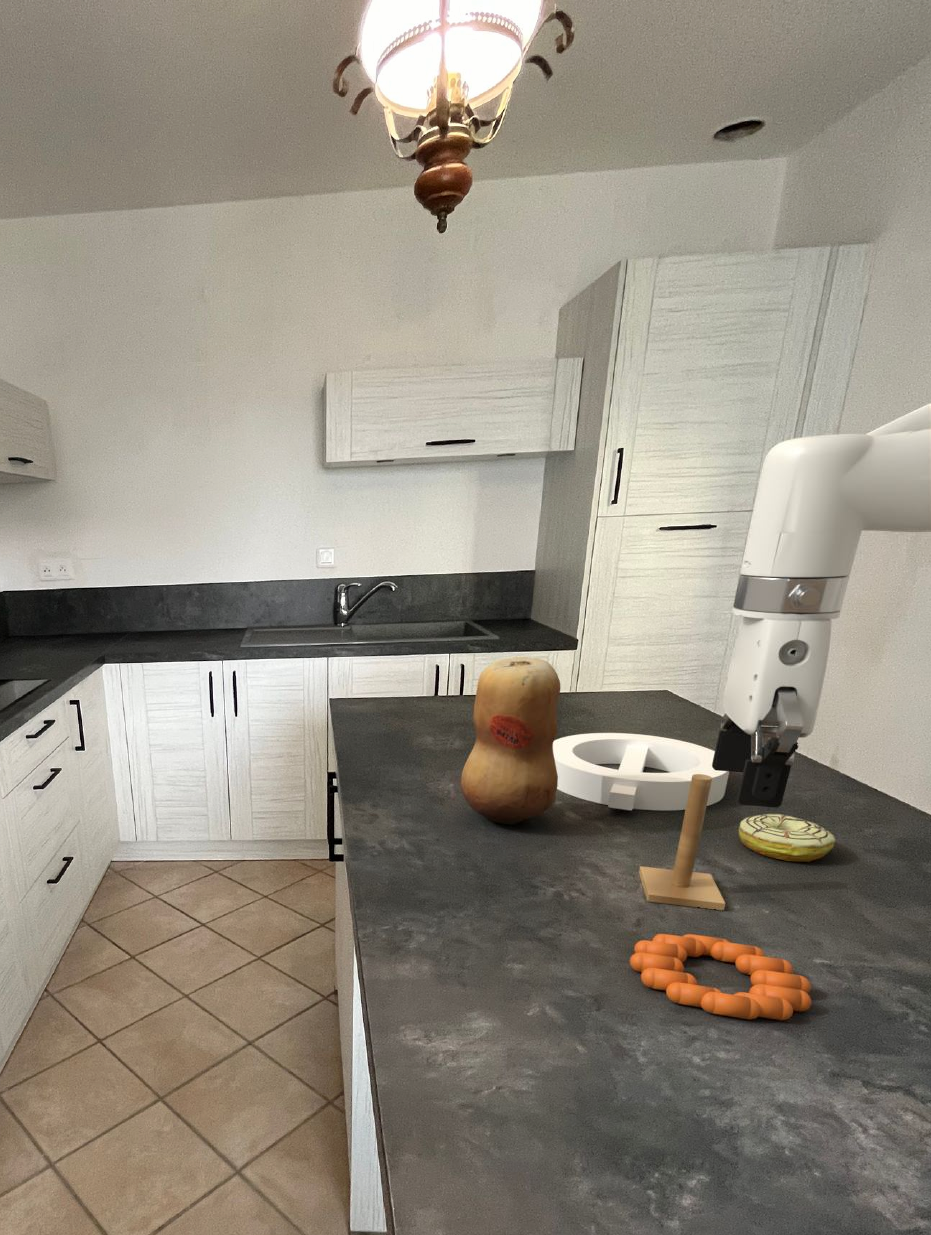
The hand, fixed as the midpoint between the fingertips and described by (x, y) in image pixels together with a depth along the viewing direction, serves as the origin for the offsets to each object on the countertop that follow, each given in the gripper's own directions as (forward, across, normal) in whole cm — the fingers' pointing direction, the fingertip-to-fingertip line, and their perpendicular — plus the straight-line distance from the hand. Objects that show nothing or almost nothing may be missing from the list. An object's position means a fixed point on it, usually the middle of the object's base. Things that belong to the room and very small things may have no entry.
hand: (743, 786), depth 68 cm
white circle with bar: (+20, +59, 0) cm, 63 cm away
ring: (+20, -3, -1) cm, 20 cm away
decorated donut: (+20, +34, -16) cm, 43 cm away
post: (+20, +17, -1) cm, 26 cm away
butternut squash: (+20, +36, +20) cm, 45 cm away
